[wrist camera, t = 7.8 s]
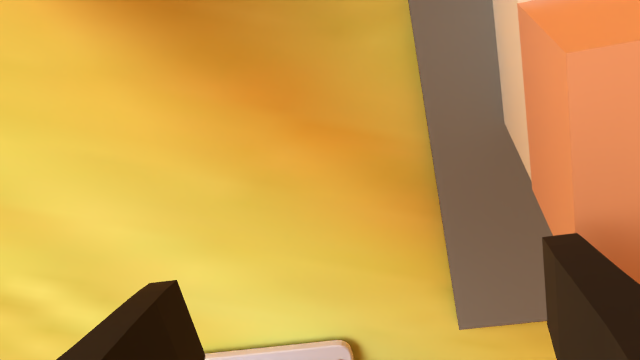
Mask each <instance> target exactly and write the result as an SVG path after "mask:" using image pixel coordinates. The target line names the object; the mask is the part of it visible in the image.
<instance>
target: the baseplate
mask: <svg viewBox="0 0 640 360" xmlns="http://www.w3.org/2000/svg"><path fill="white" fill-rule="evenodd" d="M408 2H409V8H410V15H411V21H412V28H413V34H414V41H415V47H416V54H417V60H418V66H419V73H420V79H421V86H422V92H423V99H424V105H425V112H426V118H427V125H428V131H429V138H430V144H431V150H432V157H433V163H434V170H435V176H436V183H437V189H438V196H439V202H440V209H441V215H442V222H443V228H444V234H445V241H446V247H447V254H448V260H449V267H450V273H451V280H452V286H453V293H454V299H455V306H456V312H457V318H458V325H459V330H462V329H472V328H481V327H491V326H501V325H510V324H520V323H530V322H539V321H547V309H546V293H545V278H544V262H543V246H542V237H547V236H553V234H552V232H551V230H550V228H549V226H548V223H547V221H546V219H545V217H544V214H543V212H542V210H541V208H540V206H539V203H538V201H537V199H536V197H535V195H534V192H533V190H532V181H531V179H530V177H529V175H528V173H527V171H526V168H525V166H524V164H523V162H522V160H521V158H520V155H519V153H518V151H517V149H516V147H515V145H514V142H513V140H512V138H511V136H510V134H509V132H508V129H507V127H506V125H505V123H504V113H503V103H502V93H501V83H500V72H499V62H498V52H497V42H496V31H495V21H494V11H493V1H492V0H408Z"/></svg>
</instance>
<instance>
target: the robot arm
mask: <svg viewBox="0 0 640 360" xmlns="http://www.w3.org/2000/svg"><path fill="white" fill-rule="evenodd" d="M542 246H543V262H544V278H545V293H546V309H547V325H548V328H549V332H550V336H551V340H552V343H553V347H554V351H555V355H556V358H557V360H640V284H639V283H637V282H636V281H635V280H634V279H632V278H631V277H630V276H628V275H627V274H626V273H625V272H623V271H622V270H621V269H620V268H619V267H617V266H616V265H615V264H614V263H613V262H611V261H610V260H609V259H608V258H607V257H605V256H604V255H603V254H602V253H601V252H599V251H598V250H597V249H596V248H595V247H594V246H592V245H591V244H590V243H589V242H588V241H587V240H585V239H584V238H583V237H582V236H580V235H579V234H578V233H572V234H564V235H555V236H547V237H542ZM339 359H342V360H354V357H353V353H352V349H351V347H350V345H349V344H348V343H347V342H345V341H342V340H332V341H323V342H313V343H303V344H294V345H284V346H275V347H265V348H255V349H246V350H236V351H227V352H217V353H207V354H205V353H204V351H203V348H202V345H201V343H200V340H199V337H198V335H197V332H196V330H195V327H194V324H193V322H192V319H191V316H190V314H189V311H188V309H187V306H186V303H185V301H184V298H183V295H182V293H181V290H180V287H179V285H178V282H177V280H173V281H165V282H156V283H149V284H148V285H146V286H145V287H144V288H142V289H141V290H139V291H138V292H137V293H136V294H134V295H133V296H132V297H131V298H129V299H128V300H127V301H126V302H125V303H123V304H122V305H121V306H120V307H119V308H117V309H116V310H115V311H114V312H113V313H112V314H110V315H109V316H108V317H107V318H106V319H105V320H103V321H102V322H101V323H100V324H99V325H97V326H96V327H95V328H94V329H93V330H92V331H90V332H89V333H88V334H87V335H86V336H85V337H83V338H82V339H81V340H80V341H79V342H77V343H76V344H75V345H74V346H73V347H72V348H70V349H69V350H68V351H67V352H65V353H64V354H63V355H62V356H60V357H59V358H58V359H57V360H339Z"/></svg>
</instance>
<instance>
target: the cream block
mask: <svg viewBox="0 0 640 360" xmlns="http://www.w3.org/2000/svg"><path fill="white" fill-rule="evenodd" d="M492 1H493V11H494V21H495V31H496V42H497V52H498V62H499V72H500V83H501V93H502V103H503V113H504V123H505V125H506V127H507V129H508V132H509V134H510V136H511V138H512V140H513V142H514V145H515V147H516V149H517V151H518V153H519V155H520V158H521V160H522V162H523V164H524V166H525V168H526V171H527V173H528V175H529V177H530V179H531V168H530V155H529V143H528V131H527V119H526V106H525V94H524V82H523V69H522V57H521V45H520V32H519V20H518V8H517V3H522V2H527V1H532V0H492ZM531 181H532V180H531Z"/></svg>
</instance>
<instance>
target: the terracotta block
mask: <svg viewBox="0 0 640 360" xmlns="http://www.w3.org/2000/svg"><path fill="white" fill-rule="evenodd" d="M517 8H518V20H519V32H520V45H521V57H522V69H523V82H524V94H525V106H526V119H527V131H528V143H529V155H530V168H531V180H532V190H533V192H534V195H535V197H536V199H537V201H538V203H539V206H540V208H541V210H542V212H543V214H544V217H545V219H546V221H547V223H548V226H549V228H550V230H551V232H552V234H553V236H555V235H564V234H572V233H578V234H579V235H580V236H582V237H583V238H584V239H585V240H587V241H588V242H589V243H590V244H591V245H592V246H594V247H595V248H596V249H597V250H598V251H599V252H601V253H602V254H603V255H604V256H605V257H607V258H608V259H609V260H610V261H611V262H613V263H614V264H615V265H616V266H617V267H619V268H620V269H621V270H622V271H623V272H625V273H626V274H627V275H628V276H630V277H631V278H632V279H634V280H635V281H636V282H637V283H639V284H640V0H532V1H527V2H522V3H517Z"/></svg>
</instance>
